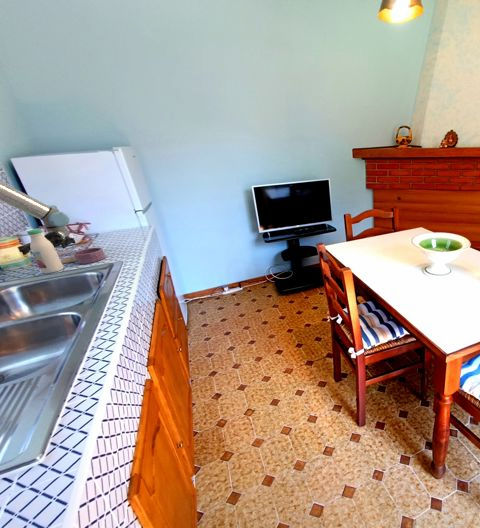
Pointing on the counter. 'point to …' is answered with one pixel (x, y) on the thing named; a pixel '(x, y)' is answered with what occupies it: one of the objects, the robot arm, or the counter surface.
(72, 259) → the coaster
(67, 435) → the counter surface
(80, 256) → the bowl
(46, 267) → the milk bottle
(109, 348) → the counter surface
